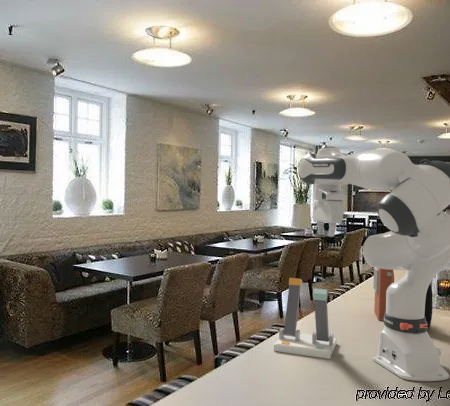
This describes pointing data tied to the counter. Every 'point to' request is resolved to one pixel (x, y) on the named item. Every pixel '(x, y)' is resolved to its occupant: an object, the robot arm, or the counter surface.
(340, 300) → the counter surface
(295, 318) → the lever orange
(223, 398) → the counter surface
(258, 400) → the counter surface
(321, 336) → the lever teal
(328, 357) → the console
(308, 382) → the counter surface
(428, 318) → the portable speaker
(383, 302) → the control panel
